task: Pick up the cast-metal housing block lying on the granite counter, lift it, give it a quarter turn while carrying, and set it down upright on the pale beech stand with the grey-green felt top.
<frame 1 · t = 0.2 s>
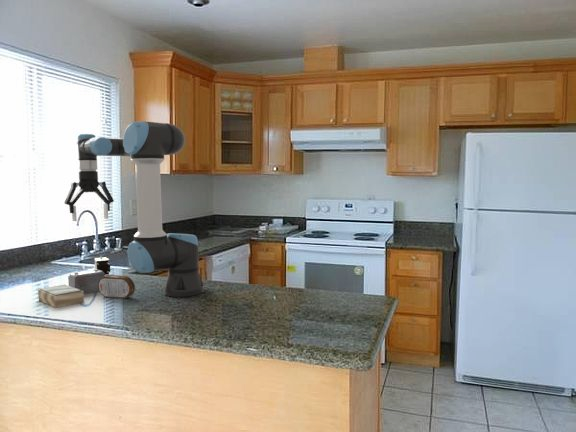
hand: (90, 219, 209), 27 cm above the countertop, tool pointing down, fingers open, 13 cm apart
pneumatic valve: (103, 284, 206), on the countertop
stand: (61, 301, 178), on the countertop
tin: (116, 298, 182), on the countertop
housing: (87, 292, 192), on the countertop
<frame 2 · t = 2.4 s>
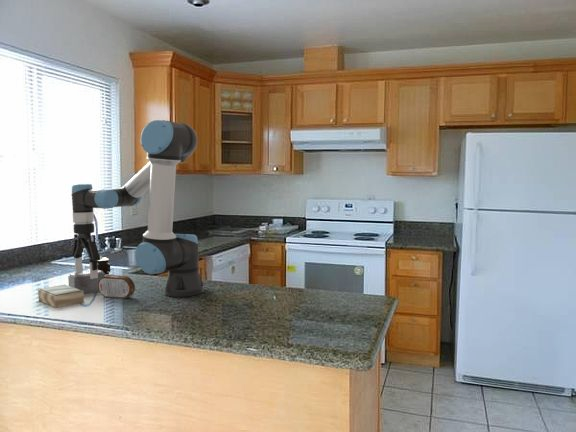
hand: (86, 276, 192), 6 cm above the countertop, tool pointing down, fingers open, 13 cm apart
nothing on the countertop moved.
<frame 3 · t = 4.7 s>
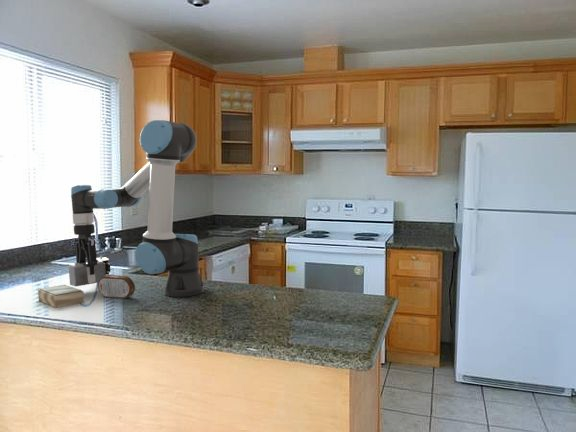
hand: (88, 281, 192), 4 cm above the countertop, tool pointing down, fingers closed on housing, 6 cm apart
housing: (88, 282, 192), point 4 cm above the countertop, touching gripper
everything else where it was.
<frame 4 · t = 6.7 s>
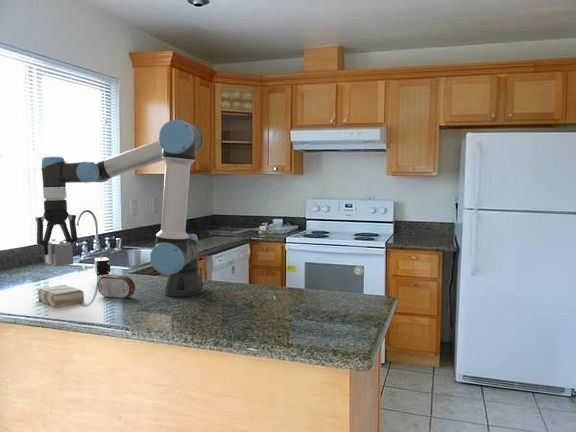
hand: (58, 262, 177), 15 cm above the countertop, tool pointing down, fingers closed on housing, 6 cm apart
housing: (58, 263, 177), point 14 cm above the countertop, touching gripper
everything else where it was.
when the fingers open (6 cm above the countertop, at t = 9.0 s): housing stays where it is, resting on stand.
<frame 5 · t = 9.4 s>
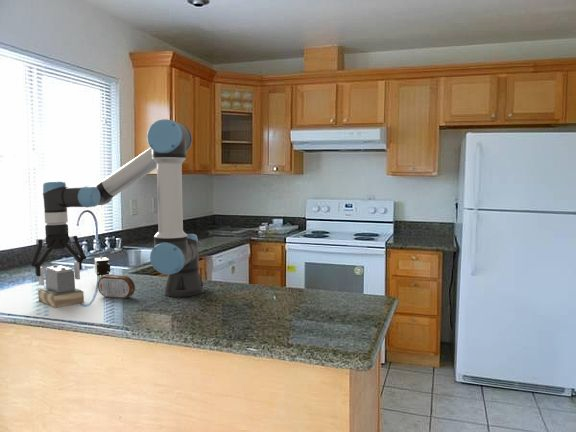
hand: (60, 281, 177), 7 cm above the countertop, tool pointing down, fingers open, 12 cm apart
housing: (60, 289, 178), point 4 cm above the countertop, touching stand
everything else where it was.
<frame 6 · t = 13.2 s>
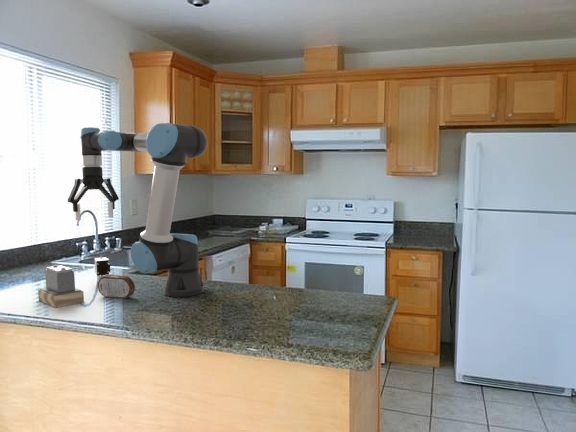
hand: (95, 218, 196), 29 cm above the countertop, tool pointing down, fingers open, 13 cm apart
nothing on the countertop moved.
at the end: housing inside the target area on the stand (0.0 cm from its centre), point 4.4 cm above the stand's base; housing tilted 0°; the gripper is holding nothing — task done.
